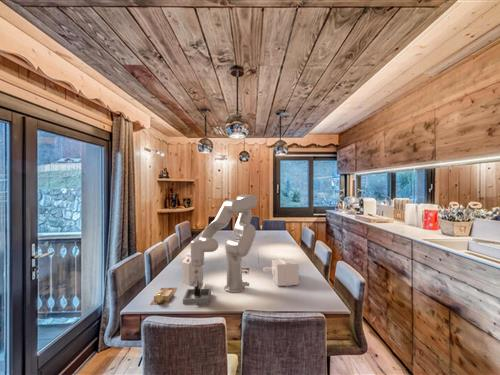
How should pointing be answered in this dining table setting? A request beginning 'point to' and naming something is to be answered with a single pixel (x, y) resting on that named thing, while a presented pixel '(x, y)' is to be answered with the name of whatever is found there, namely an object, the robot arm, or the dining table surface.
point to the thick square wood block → (167, 294)
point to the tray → (201, 300)
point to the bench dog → (160, 298)
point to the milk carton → (187, 271)
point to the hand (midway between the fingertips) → (197, 293)
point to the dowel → (200, 292)
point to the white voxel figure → (284, 272)
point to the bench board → (165, 301)
